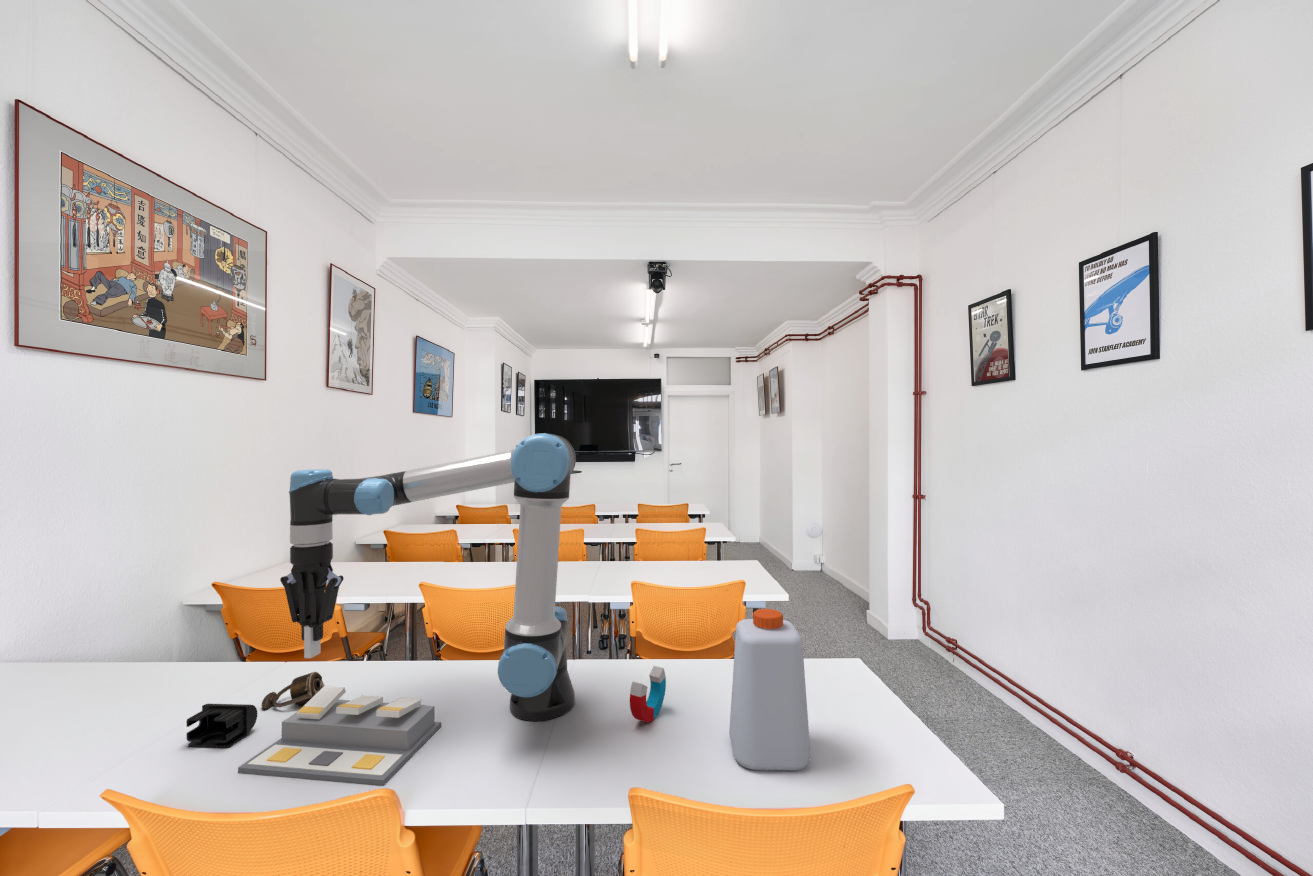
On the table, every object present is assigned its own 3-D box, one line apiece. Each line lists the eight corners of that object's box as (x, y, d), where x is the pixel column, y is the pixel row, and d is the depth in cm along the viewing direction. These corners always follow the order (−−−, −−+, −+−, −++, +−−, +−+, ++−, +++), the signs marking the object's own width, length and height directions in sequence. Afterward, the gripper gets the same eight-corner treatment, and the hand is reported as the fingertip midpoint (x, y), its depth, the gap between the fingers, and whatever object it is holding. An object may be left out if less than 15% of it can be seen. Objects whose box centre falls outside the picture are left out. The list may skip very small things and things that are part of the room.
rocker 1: (345, 692, 118) (344, 686, 117) (319, 719, 110) (318, 714, 110) (325, 690, 118) (324, 685, 118) (297, 717, 111) (296, 712, 110)
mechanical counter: (301, 694, 121) (333, 666, 131) (251, 685, 123) (287, 658, 133) (304, 721, 123) (335, 691, 133) (255, 712, 125) (290, 683, 134)
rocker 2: (420, 705, 115) (421, 698, 116) (398, 717, 107) (399, 710, 108) (399, 703, 116) (400, 697, 116) (375, 716, 108) (376, 709, 108)
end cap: (258, 730, 116) (258, 699, 116) (230, 749, 109) (230, 716, 109) (214, 729, 117) (214, 698, 117) (184, 747, 109) (184, 715, 109)
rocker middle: (382, 702, 116) (383, 696, 117) (357, 715, 109) (358, 707, 109) (361, 701, 117) (362, 694, 117) (335, 713, 109) (336, 706, 110)
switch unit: (441, 726, 117) (441, 704, 117) (383, 785, 97) (383, 758, 97) (317, 717, 121) (317, 695, 121) (237, 772, 101) (237, 746, 101)
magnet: (656, 705, 126) (656, 663, 126) (666, 708, 125) (666, 666, 125) (629, 729, 116) (629, 683, 116) (640, 732, 114) (639, 686, 114)
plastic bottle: (727, 729, 116) (726, 601, 116) (797, 730, 115) (796, 601, 115) (735, 773, 101) (735, 625, 101) (815, 774, 100) (815, 626, 100)
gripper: (352, 540, 114) (353, 649, 114) (298, 539, 116) (298, 647, 116) (326, 547, 107) (327, 664, 107) (268, 546, 108) (269, 661, 108)
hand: (312, 655), depth 111 cm, fingers closed
